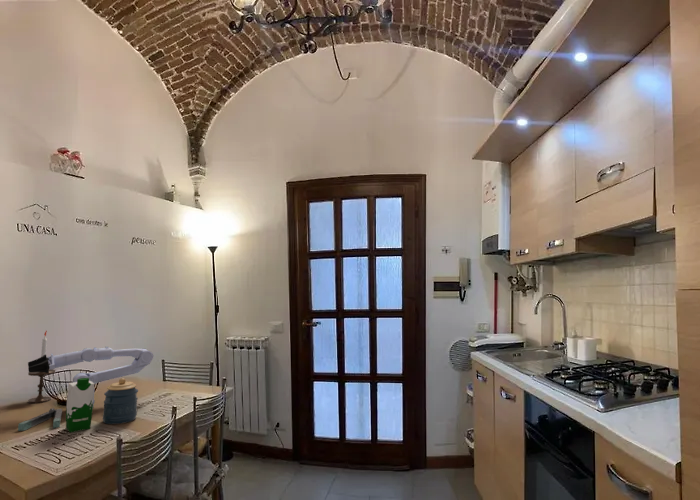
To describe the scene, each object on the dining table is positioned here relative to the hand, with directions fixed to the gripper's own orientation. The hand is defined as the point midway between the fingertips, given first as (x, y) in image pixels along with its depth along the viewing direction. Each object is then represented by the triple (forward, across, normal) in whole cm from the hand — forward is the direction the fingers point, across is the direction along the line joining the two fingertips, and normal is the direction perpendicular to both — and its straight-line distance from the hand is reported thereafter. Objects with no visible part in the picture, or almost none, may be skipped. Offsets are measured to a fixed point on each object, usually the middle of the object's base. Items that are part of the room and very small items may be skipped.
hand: (28, 367), depth 182 cm
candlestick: (-3, -22, +25) cm, 34 cm away
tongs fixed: (-7, +19, +20) cm, 28 cm away
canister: (-29, +33, +22) cm, 49 cm away
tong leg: (0, +19, +19) cm, 27 cm away
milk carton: (-14, +35, +19) cm, 42 cm away
